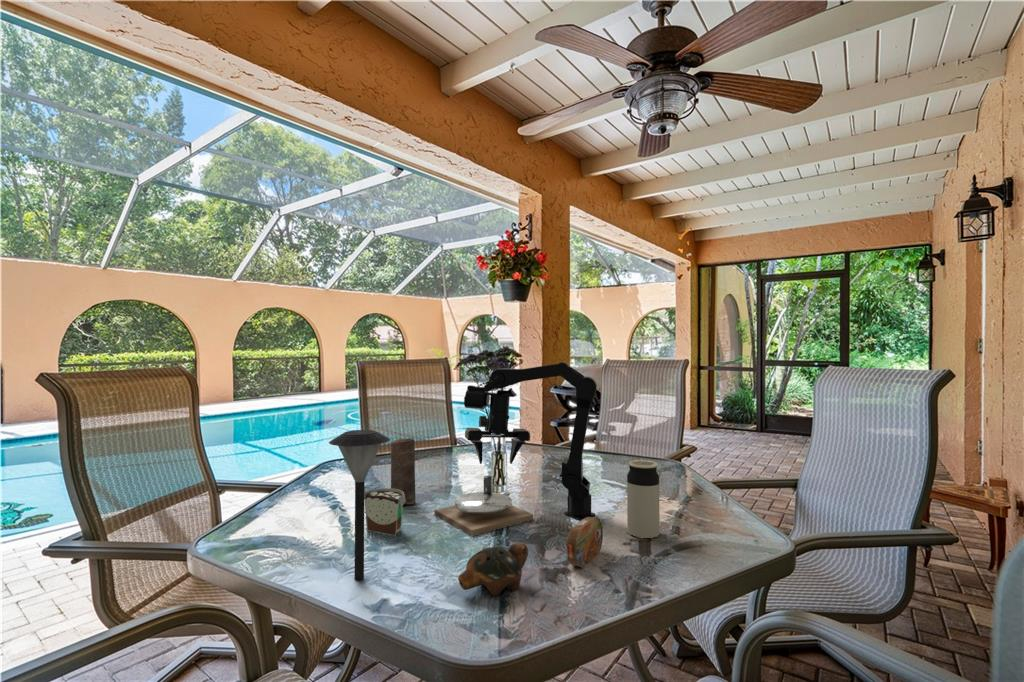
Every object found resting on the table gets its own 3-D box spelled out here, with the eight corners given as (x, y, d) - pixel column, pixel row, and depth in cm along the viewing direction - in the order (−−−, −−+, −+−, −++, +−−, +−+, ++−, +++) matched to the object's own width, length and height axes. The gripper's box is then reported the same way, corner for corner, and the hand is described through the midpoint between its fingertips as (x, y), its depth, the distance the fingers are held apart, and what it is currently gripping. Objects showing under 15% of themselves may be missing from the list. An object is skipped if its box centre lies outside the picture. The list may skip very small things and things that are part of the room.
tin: (577, 574, 102) (577, 533, 103) (564, 570, 104) (564, 530, 104) (604, 549, 115) (604, 513, 115) (591, 546, 117) (591, 511, 117)
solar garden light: (355, 562, 108) (356, 426, 109) (401, 571, 103) (402, 429, 104) (313, 586, 97) (314, 434, 97) (363, 598, 92) (364, 439, 93)
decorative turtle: (541, 586, 97) (540, 547, 96) (475, 615, 88) (474, 572, 88) (512, 566, 105) (511, 530, 104) (450, 591, 96) (448, 551, 95)
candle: (401, 509, 144) (401, 441, 145) (385, 504, 149) (385, 439, 149) (420, 503, 150) (420, 438, 151) (404, 498, 155) (404, 435, 155)
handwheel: (506, 522, 128) (506, 491, 129) (448, 519, 131) (448, 489, 131) (515, 503, 144) (515, 476, 144) (462, 501, 146) (462, 474, 147)
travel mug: (664, 539, 121) (663, 466, 122) (633, 540, 121) (632, 466, 121) (653, 527, 129) (652, 459, 130) (623, 528, 129) (623, 459, 129)
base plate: (533, 519, 135) (533, 513, 135) (472, 536, 123) (472, 529, 123) (492, 502, 151) (492, 496, 151) (434, 515, 139) (434, 509, 139)
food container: (415, 529, 128) (415, 491, 128) (400, 537, 123) (400, 497, 123) (378, 522, 133) (378, 485, 134) (362, 529, 128) (362, 491, 128)
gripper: (521, 407, 155) (518, 457, 155) (463, 406, 150) (460, 457, 150) (532, 413, 144) (529, 465, 144) (470, 411, 139) (466, 466, 139)
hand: (495, 463), depth 144 cm, fingers open, 9 cm apart
